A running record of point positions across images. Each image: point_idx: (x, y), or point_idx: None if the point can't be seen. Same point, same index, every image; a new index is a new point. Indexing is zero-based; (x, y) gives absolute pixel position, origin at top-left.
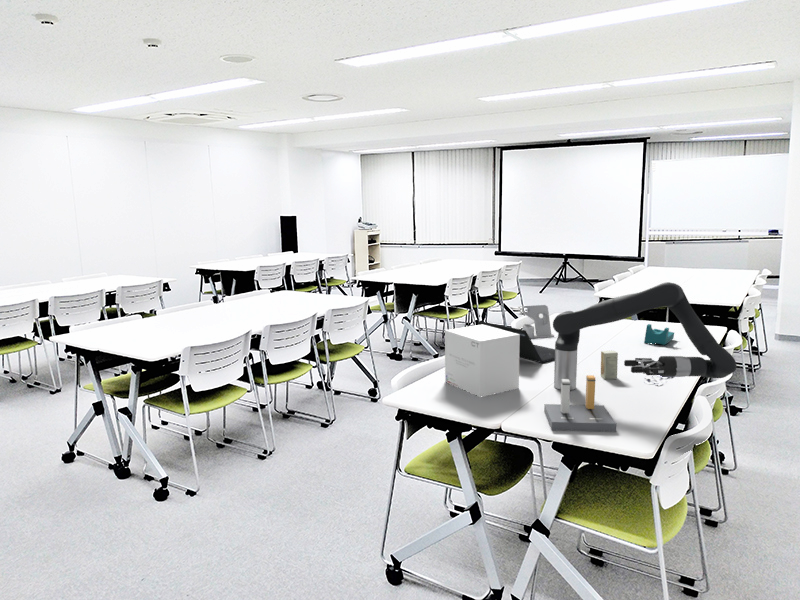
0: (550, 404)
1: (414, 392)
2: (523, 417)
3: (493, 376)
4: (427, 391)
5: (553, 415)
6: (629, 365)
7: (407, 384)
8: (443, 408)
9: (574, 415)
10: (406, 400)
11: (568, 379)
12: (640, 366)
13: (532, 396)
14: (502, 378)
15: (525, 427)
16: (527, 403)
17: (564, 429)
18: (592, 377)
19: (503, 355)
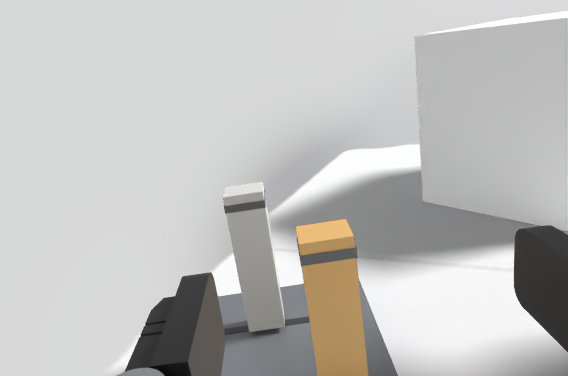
0: (359, 288)
1: (400, 154)
2: (291, 271)
3: (465, 156)
4: (417, 159)
5: (240, 302)
6: (551, 324)
7: None
8: (322, 185)
9: (240, 352)
10: (351, 158)
11: (256, 192)
12: (183, 343)
13: None
14: (502, 173)
15: None
16: (427, 265)
17: None
18: (304, 235)
19: (506, 94)
